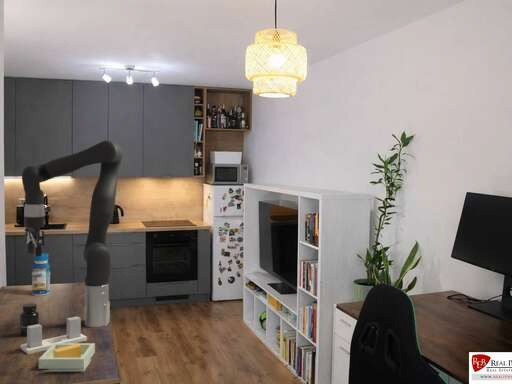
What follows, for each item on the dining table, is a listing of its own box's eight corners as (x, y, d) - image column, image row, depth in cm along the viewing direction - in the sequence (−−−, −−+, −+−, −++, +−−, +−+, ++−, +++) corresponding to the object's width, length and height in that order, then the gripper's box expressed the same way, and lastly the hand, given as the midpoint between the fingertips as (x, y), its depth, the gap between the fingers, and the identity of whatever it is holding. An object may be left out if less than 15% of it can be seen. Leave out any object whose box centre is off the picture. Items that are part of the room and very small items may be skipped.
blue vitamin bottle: (53, 293, 252) (54, 253, 251) (38, 297, 245) (38, 256, 243) (43, 290, 256) (43, 252, 255) (28, 294, 249) (28, 254, 248)
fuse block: (78, 337, 190) (78, 332, 190) (86, 342, 185) (87, 336, 185) (20, 351, 175) (20, 344, 175) (27, 357, 170) (27, 350, 170)
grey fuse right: (77, 337, 188) (77, 316, 187) (80, 339, 185) (80, 318, 185) (66, 339, 185) (66, 318, 184) (70, 342, 183) (70, 320, 182)
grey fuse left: (38, 346, 178) (38, 324, 177) (42, 348, 176) (42, 326, 175) (27, 348, 175) (27, 326, 175) (30, 351, 173) (30, 328, 172)
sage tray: (94, 354, 174) (94, 343, 174) (83, 371, 160) (83, 359, 160) (53, 354, 173) (53, 343, 173) (38, 371, 159) (38, 359, 159)
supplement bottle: (17, 339, 186) (17, 307, 186) (21, 333, 193) (21, 302, 192) (37, 338, 188) (37, 306, 188) (40, 332, 195) (40, 302, 194)
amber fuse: (53, 361, 165) (76, 355, 170) (57, 364, 163) (80, 357, 168) (53, 349, 164) (76, 343, 170) (57, 352, 162) (80, 346, 168)
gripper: (50, 216, 201) (50, 256, 202) (37, 213, 212) (37, 251, 213) (31, 217, 196) (31, 258, 197) (18, 214, 207) (18, 253, 207)
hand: (34, 254), depth 205 cm, fingers open, 8 cm apart
